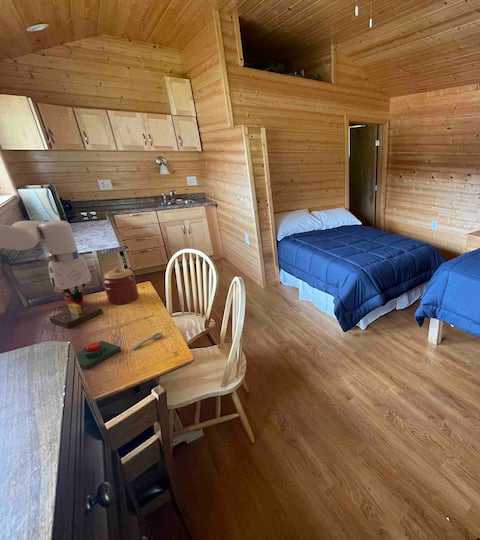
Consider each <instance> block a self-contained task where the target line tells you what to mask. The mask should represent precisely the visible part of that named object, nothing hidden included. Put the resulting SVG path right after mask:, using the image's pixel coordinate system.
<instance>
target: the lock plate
mask: <svg viewBox="0 0 480 540" xmlns="http://www.w3.org/2000/svg"><path fill="white" fill-rule="evenodd" d="M80 307H81V310H82V313H81V314H79V315H78V314H75V313H72V312H70V310H69V309H67V310H64V311H62V312H59V313H57V314H54V315H51V316H49V317H48V319H49V321H50V324H52V325H56V326H59V327H62V328H65V329H67V330H69V329H72V328H75V327H76V326H78V325H80V324H83V323H86V322H88V321H90V320H93V319H94V318H97V317H99V316H102V315H104V312H103V309H102V307H98V306H95V305H92V304H88V303H84V304H82V305H80Z"/></svg>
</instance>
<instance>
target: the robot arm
mask: <svg viewBox="0 0 480 540" xmlns="http://www.w3.org/2000/svg"><path fill="white" fill-rule="evenodd" d="M39 242H44V244H45V248H46V252H47V256H44V257H43V258H44V260H45V261H48V275H49V279H50V280H49V281H50V282H51V285H52V287H53V288H54V290H53V291H54V292H55V293H57V294H58V293H60V294H61V293H62V292H67V293H69V295H70V299H71V301H73V302H76V303H80V302H82V301H83V299H82V298H84V295H83V296H82V293H83V290H84V288H85V286H86V285H89V284H90V283H91V281H92V274H91V272H90V269H89V266H88V265H87V262H86V261H85V259H84V257H83V256H80V255H79V251H78V247H77V244H76V240H75V236H74V233H73V229H72V226H71V224H70V222H68V221H66V220H60V219H59V220H47V221H40V220H18V221H16V222H13V224H12V225H9V224H8V225H7V224H2V223H0V249H4V250H12V251H27V250H31V249H33V248H35V247H36V246H37V245H38V244H39ZM73 287H74V289H73Z"/></svg>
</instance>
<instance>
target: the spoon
mask: <svg viewBox="0 0 480 540" xmlns="http://www.w3.org/2000/svg"><path fill="white" fill-rule="evenodd" d="M162 336H163V332H157V333H155V334H153V335H152V336H151V337H147V338H146V339H144V340H142V341H140V342H138V343H136V344H134V345H133V346H131V348H130V349H131V350H132V351H135V350H137V349H138V348H140V347H141V346H142V345H143V344H145V343H147V342H149V341H150V340H151V341H152V340H158V339H160V338H161V337H162Z"/></svg>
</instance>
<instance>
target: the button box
mask: <svg viewBox="0 0 480 540" xmlns="http://www.w3.org/2000/svg"><path fill="white" fill-rule="evenodd" d="M97 343H98V344H99V347H100V348H99V349H98V350H96V351H93V352H88V351H87V348H86V346H84V348H83V349H82V350H80V351H78V352H76V353H75V354H76V355H77V358H78V361H79V364H80V367H79V368H81V369H84V370H87V371H89V370H91V369H92V368H94V367H97V366H98V365H100V364H101V363H103V362H105V361H107V360H108V359H110V358H112V357H113V356H116V355H117V354H119V353H121V352H122V347H121V346H119V345H117V344H113V343H111V342H108V341H105V340H100V341H98V342H97Z"/></svg>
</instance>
